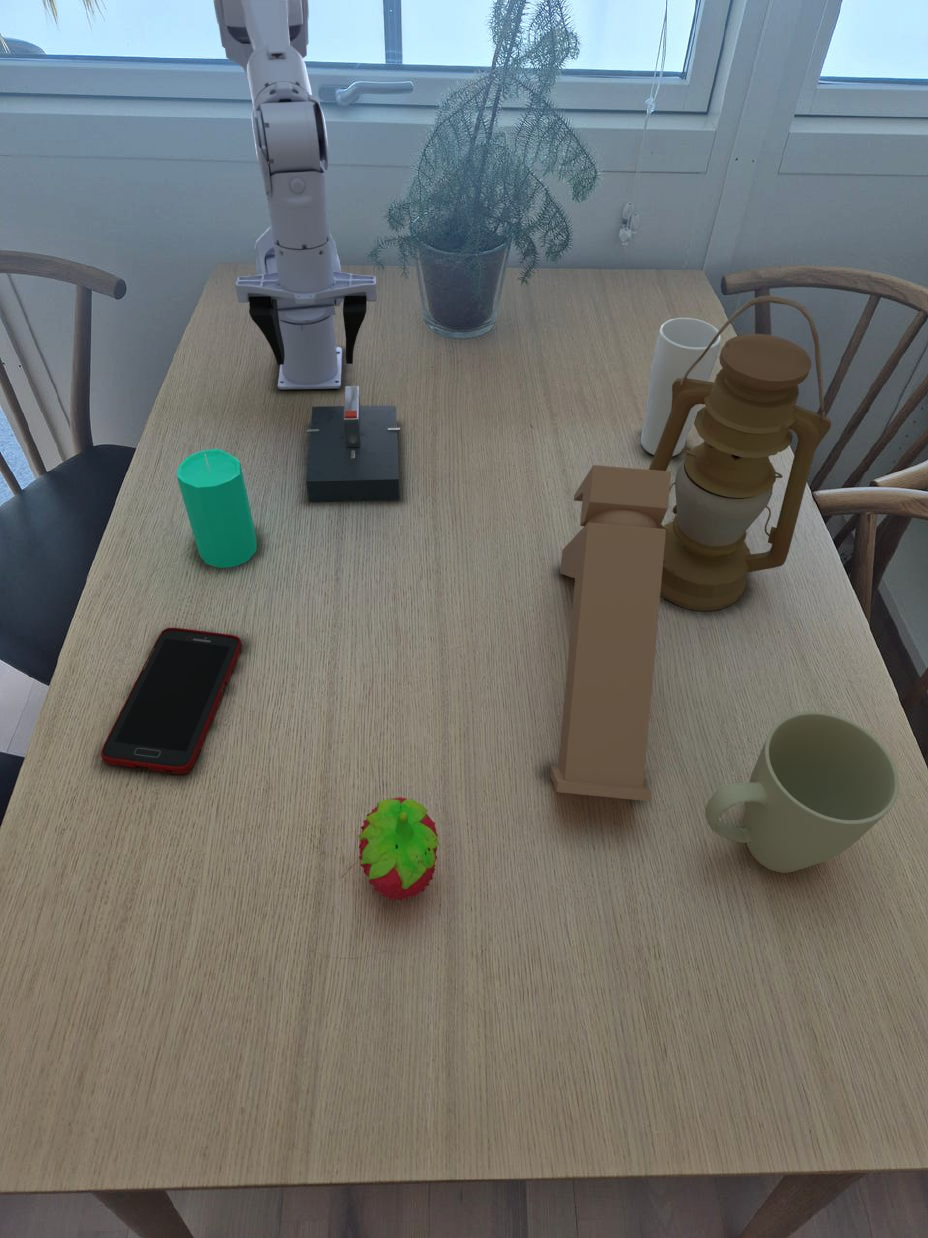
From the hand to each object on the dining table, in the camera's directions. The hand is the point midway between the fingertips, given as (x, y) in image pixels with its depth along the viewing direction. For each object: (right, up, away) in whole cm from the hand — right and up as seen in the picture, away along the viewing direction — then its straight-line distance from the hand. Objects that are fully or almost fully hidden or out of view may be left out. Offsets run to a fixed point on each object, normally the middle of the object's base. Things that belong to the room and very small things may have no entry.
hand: (315, 359), depth 93 cm
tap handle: (+4, -7, +2) cm, 9 cm away
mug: (+41, -48, -28) cm, 69 cm away
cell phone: (-9, -37, -20) cm, 43 cm away
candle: (-8, -22, -7) cm, 25 cm away
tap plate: (+4, -11, +3) cm, 12 cm away
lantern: (+41, -25, -7) cm, 48 cm away
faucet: (+29, -35, -17) cm, 48 cm away
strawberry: (+12, -49, -30) cm, 59 cm away
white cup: (+41, -8, +7) cm, 42 cm away
